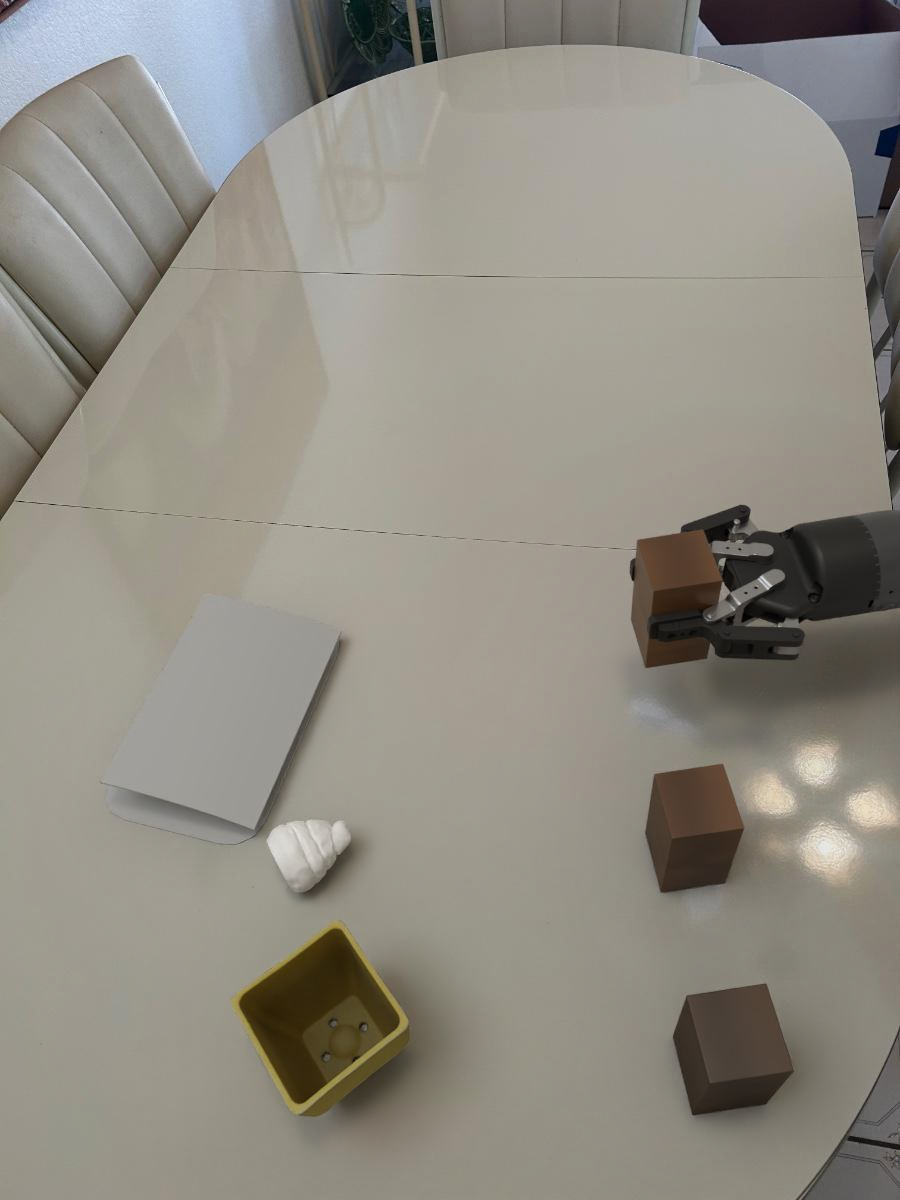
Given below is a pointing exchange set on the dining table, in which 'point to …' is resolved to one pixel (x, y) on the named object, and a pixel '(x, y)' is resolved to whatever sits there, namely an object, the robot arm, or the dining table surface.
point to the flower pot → (322, 1021)
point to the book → (222, 721)
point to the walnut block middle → (692, 827)
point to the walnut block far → (673, 591)
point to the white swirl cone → (307, 850)
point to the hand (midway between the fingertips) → (640, 598)
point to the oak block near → (731, 1049)
